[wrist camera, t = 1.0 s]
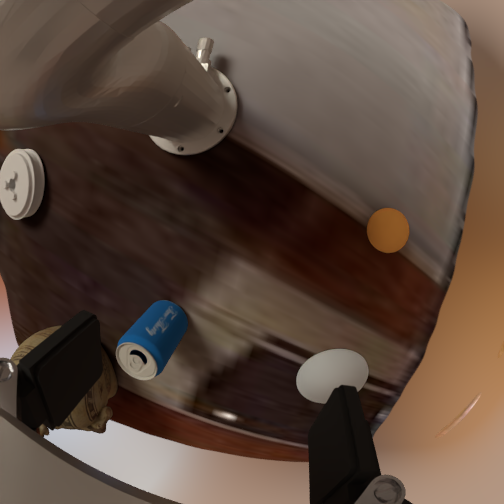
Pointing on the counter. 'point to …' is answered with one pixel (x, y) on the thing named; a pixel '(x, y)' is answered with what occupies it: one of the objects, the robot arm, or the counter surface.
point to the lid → (21, 183)
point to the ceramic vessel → (93, 403)
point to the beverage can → (152, 340)
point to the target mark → (331, 373)
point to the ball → (388, 230)
